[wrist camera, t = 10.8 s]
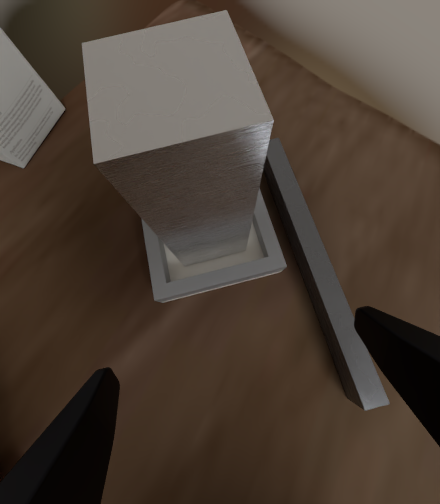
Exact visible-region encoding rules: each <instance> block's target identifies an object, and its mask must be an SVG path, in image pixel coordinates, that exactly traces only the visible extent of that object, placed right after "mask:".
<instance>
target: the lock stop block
mask: <svg viewBox="0 0 440 504" xmlns="http://www.w3.org/2000/svg"><path fill="white" fill-rule="evenodd" d="M82 51H83V60H84V71H85V81H86V92H87V102H88V112H89V122H90V132H91V143H92V153H93V163H94V165H95V166H96V167H97V168H98V170H99V171H100V172H101V173H102V174H103V175H104V176H105V177H106V179H107V180H108V181H109V182H110V183H111V184H112V185H113V186H114V188H115V189H116V190H117V191H118V192H119V193H120V194H121V195H122V197H123V198H124V199H125V200H126V201H127V202H128V203H129V205H130V206H131V207H132V208H133V209H134V210H135V211H136V212H137V214H138V215H139V216H140V217H141V218H142V219H143V220H144V221H145V223H146V224H147V225H148V226H149V227H150V228H151V229H152V230H153V232H154V233H155V234H156V235H157V236H158V237H159V238H160V239H161V241H162V242H163V243H164V244H165V245H166V246H167V247H168V248H169V250H170V251H171V252H172V253H173V254H174V255H175V256H176V257H177V259H178V260H179V261H180V262H181V263H182V264H183V265H184V266H189V265H193V264H196V263H200V262H204V261H208V260H212V259H216V258H219V257H223V256H227V255H231V254H235V253H239V252H243V251H246V248H247V243H248V238H249V234H250V229H251V224H252V220H253V215H254V210H255V205H256V201H257V196H258V191H259V187H260V182H261V177H262V173H263V168H264V163H265V158H266V154H267V149H268V144H269V140H270V135H271V130H272V125H273V121H274V120H273V117H272V115H271V113H270V110H269V108H268V106H267V103H266V101H265V99H264V96H263V94H262V92H261V89H260V87H259V85H258V82H257V80H256V78H255V75H254V73H253V70H252V68H251V66H250V63H249V61H248V59H247V56H246V54H245V52H244V49H243V47H242V45H241V42H240V40H239V38H238V35H237V33H236V31H235V28H234V26H233V24H232V21H231V19H230V17H229V14H228V12H227V10H225V11H221V12H216V13H211V14H207V15H203V16H198V17H194V18H190V19H185V20H181V21H177V22H172V23H168V24H163V25H159V26H155V27H150V28H146V29H142V30H137V31H133V32H128V33H124V34H120V35H116V36H111V37H107V38H102V39H98V40H94V41H89V42H85V43H82Z"/></svg>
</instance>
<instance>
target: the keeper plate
mask: <svg viewBox="0 0 440 504" xmlns="http://www.w3.org/2000/svg"><path fill="white" fill-rule="evenodd" d="M141 219H142V218H141ZM142 226H143V232H144V238H145V244H146V251H147V257H148V263H149V270H150V276H151V282H152V289H153V295H154V301H158V302H162V303H164V302H168V301H172V300H176V299H179V298H183V297H187V296H191V295H195V294H199V293H203V292H206V291H210V290H214V289H218V288H222V287H226V286H229V285H233V284H237V283H241V282H245V281H249V280H252V279H256V278H260V277H264V276H268V275H272V274H275V273H279V272H281V271H283V270H284V269H285V268H286V267H287V265H286V262H285V259H284V257H283V254H282V251H281V248H280V245H279V242H278V240H277V237H276V234H275V231H274V228H273V225H272V223H271V220H270V217H269V214H268V211H267V208H266V206H265V203H264V200H263V197H262V194H261V192H260V189H259V191H258V196H257V201H256V205H255V210H254V215H253V220H252V224H251V229H250V234H249V238H248V243H247V248H246V251H243V252H239V253H235V254H231V255H227V256H223V257H219V258H216V259H212V260H208V261H204V262H200V263H196V264H193V265H189V266H184V265H183V264H182V263H181V262H180V261H179V260H178V259H177V257H176V256H175V255H174V254H173V253H172V252H171V251H170V250H169V248H168V247H167V246H166V245H165V244H164V243H163V242H162V241H161V239H160V238H159V237H158V236H157V235H156V234H155V233H154V232H153V230H152V229H151V228H150V227H149V226H148V225H147V224H146V223H145V221H144V220H143V219H142Z"/></svg>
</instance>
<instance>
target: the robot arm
mask: <svg viewBox="0 0 440 504" xmlns="http://www.w3.org/2000/svg"><path fill="white" fill-rule="evenodd" d="M354 328H355V330H356V332H357V334H358V335H359V337H360V338H361V340H362V342H363V343H364V345H365V346H366V348H367V349H368V351H369V353H370V354H371V356H372V357H373V359H374V360H375V362H376V364H377V365H378V367H379V368H380V370H381V371H382V372H383V374H384V375H385V376H386V378H387V379H388V380H389V382H390V383H391V384H392V386H393V387H394V388H395V390H396V391H397V392H398V393H399V395H400V396H401V397H402V399H403V400H404V401H405V402H406V404H407V405H408V406H409V408H410V409H411V410H412V412H413V413H414V414H415V415H416V417H417V418H418V419H419V421H420V422H421V423H422V425H423V426H424V427H425V428H426V430H427V431H428V432H429V434H430V435H431V436H432V438H433V439H434V440H435V441H436V443H437V444H438V445H439V447H440V336H438V335H436V334H434V333H431V332H429V331H426V330H424V329H422V328H419V327H417V326H415V325H412V324H410V323H408V322H405V321H403V320H401V319H398V318H396V317H394V316H391V315H389V314H387V313H384V312H382V311H380V310H377V309H375V308H373V307H370V306H364V307H360V308H357V309H356V312H355V319H354ZM119 390H120V384H119V381H118V379H117V377H116V376H115V374H114V372H113V371H112V369H111V368H109V367H107V368H102V369H99V370H97V371H95V372H94V374H93V375H92V376H91V377H90V378H89V379H88V381H87V382H86V383H85V384H84V385H83V386H82V388H81V389H80V390H79V391H78V392H77V393H76V395H75V396H74V397H73V398H72V399H71V400H70V402H69V403H68V404H67V405H66V406H65V407H64V409H63V410H62V411H61V412H60V413H59V414H58V416H57V417H56V418H55V419H54V420H53V421H52V423H51V424H50V425H49V426H48V427H47V428H46V430H45V431H44V432H43V433H42V434H41V435H40V437H39V438H38V439H37V440H36V441H35V442H34V444H33V445H32V446H31V447H30V448H29V449H28V451H27V452H26V453H25V454H24V455H23V456H22V458H21V459H20V460H19V461H18V462H17V463H16V465H15V466H14V467H13V468H12V469H11V470H10V472H9V473H8V474H7V475H6V476H5V477H4V479H3V480H2V481H1V482H0V504H101V499H102V494H103V489H104V485H105V480H106V475H107V470H108V465H109V460H110V456H111V451H112V446H113V440H114V434H115V426H116V417H117V408H118V399H119Z"/></svg>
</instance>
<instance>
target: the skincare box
mask: <svg viewBox="0 0 440 504" xmlns="http://www.w3.org/2000/svg"><path fill="white" fill-rule="evenodd" d="M64 111H65V107H64V106H63V105H62V103H61V102H60V101H59V100H58V99H57V97H56V96H55V95H54V93H53V92H52V91H51V90H50V89H49V87H48V86H47V85H46V83H45V82H44V81H43V80H42V79H41V77H40V76H39V75H38V74H37V73H36V71H35V70H34V69H33V67H32V66H31V65H30V64H29V63H28V61H27V60H26V59H25V58H24V56H23V55H22V54H21V52H20V51H19V50H18V49H17V48H16V46H15V45H14V44H13V43H12V41H11V40H10V39H9V38H8V36H7V35H6V34H5V32H4V31H3V30H2V29H1V28H0V160H1V161H4V162H7V163H10V164H13V165H16V166H19V167H21V168H25V166H26V165H27V163H28V162H29V161H30V159H31V158H32V156H33V155H34V153H35V152H36V151H37V149H38V148H39V146H40V145H41V143H42V142H43V141H44V139H45V138H46V136H47V135H48V133H49V132H50V131H51V129H52V128H53V126H54V125H55V123H56V122H57V121H58V119H59V118H60V116H61V115H62V114H63V112H64Z"/></svg>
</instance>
